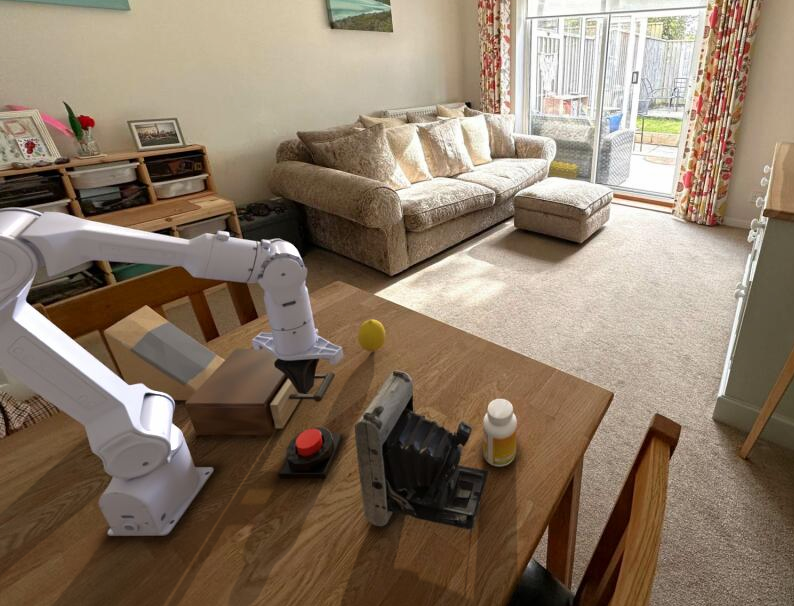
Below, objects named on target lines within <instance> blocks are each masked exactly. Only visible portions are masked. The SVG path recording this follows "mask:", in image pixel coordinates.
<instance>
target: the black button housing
mask: <svg viewBox="0 0 794 606" xmlns="http://www.w3.org/2000/svg"><path fill="white" fill-rule="evenodd" d="M310 429H317V430H319V431H320V432H321V436H322V441H323V443H322V446H321V448H320V449H319V450H318V451H317V452H316V453H315V454H312V455H310V456H301V455H299V454H298V451H297V447H296V439H297V437H298V436H299V435H300V434H301V433H302V432H304V431H306V430H307V429H305V430H303V431H301V432H300V433H298V434H297V435H296V436H295V437H293V438H292V439H291V440H290V443H289V444H288V446H287V447H286V450H285V451H286V458H285V461H284V462H283V464H282V466H281V467H280V470H279V471H278V473H277V474H278V478H279V479H281V480H283V479H284V480H286V479H289V480H291V479H292V480H294V479H299V480H301V479H304V480H305V479H308V480H309V479H310V480H311V479H313V480H314V479H315V480H316V479H317V480H318V479H319V480H321V479H323V480H324V479H327V477H328V474H329V472H330V470H331V469H332V465H333V463H334V461H335V459H336V456H337V453H338V451H339V449H340V447H341V444H342V441H343V439H344V438H343V434H341V433H332V431H330V430H329V429H327V428H325V427H323V426H322V427H317V426H315V427H311V428H310Z"/></svg>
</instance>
